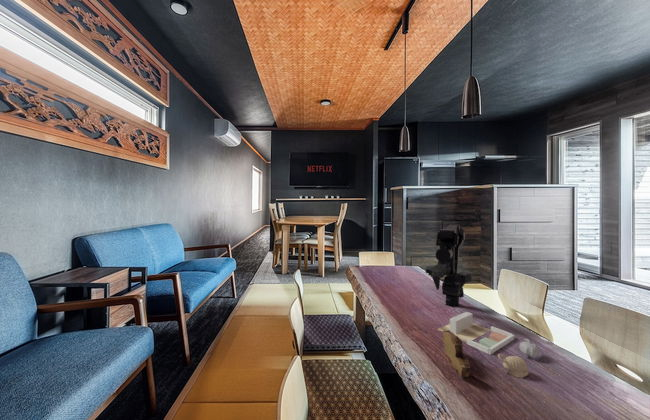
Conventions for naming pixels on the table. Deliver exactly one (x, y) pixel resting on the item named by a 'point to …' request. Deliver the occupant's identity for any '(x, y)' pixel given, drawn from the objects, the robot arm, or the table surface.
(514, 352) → the table surface
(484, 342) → the tile
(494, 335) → the tile
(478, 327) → the board
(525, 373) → the decorative ornament
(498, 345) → the tray
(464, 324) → the long grey plank
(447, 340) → the wooden carving
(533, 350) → the garlic
